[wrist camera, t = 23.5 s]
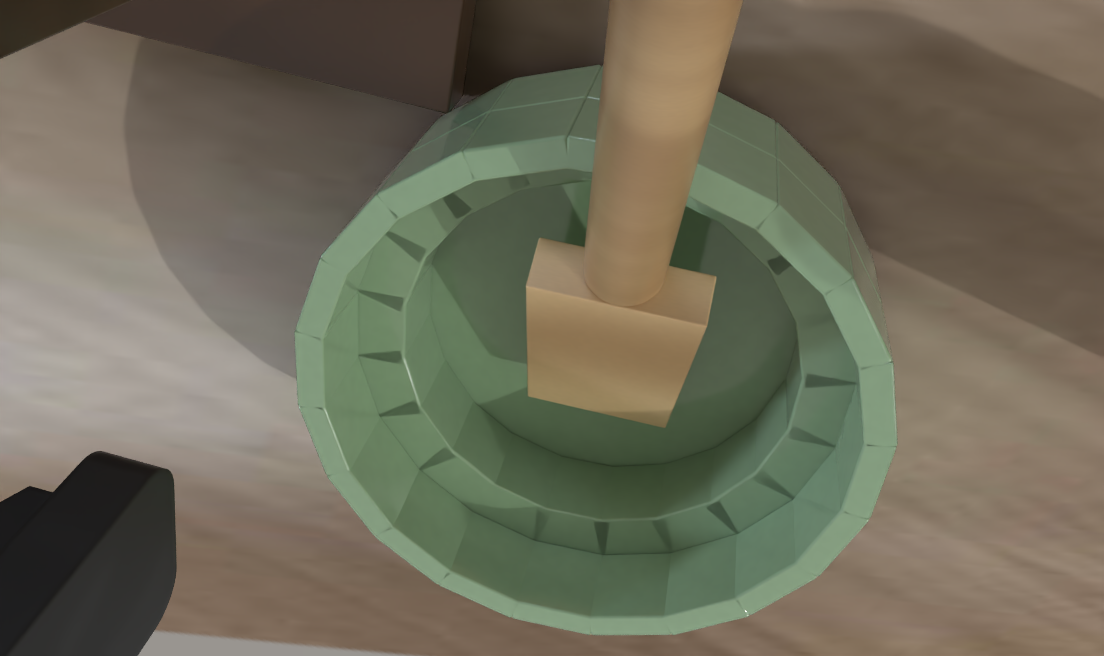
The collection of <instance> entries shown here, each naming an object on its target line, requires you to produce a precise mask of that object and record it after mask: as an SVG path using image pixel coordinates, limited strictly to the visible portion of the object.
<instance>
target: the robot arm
mask: <svg viewBox="0 0 1104 656" xmlns="http://www.w3.org/2000/svg"><path fill="white" fill-rule="evenodd" d="M175 578H176V531H175V498H174V479H173V476H172V473H171V472H170V471H169V470H168V469H165V468H161V467H157V466H154V465H150V464H147V463H143V462H139V461H136V460H132V459H128V458H125V457H121V456H117V455H114V454H110V453H106V452H102V451H97V452H94V453H92V454H90V455H88V456H87V457H86V458H85V459H84V460H83V461H82V462H81V463H80V464H79V465H78V466H77V467H76V468H75V469H74V470H73V471H72V472H71V473H70V475H69V476H68V477H67V478H66V479H65V480H64V481H63V482H62V483H61V484H60V485H59V487H58V488H57V489H56V490H55V491H54V492H49V491H46V490H42V489H39V488H35V487H31V486H29V487H27V488H25V489H23V490H22V491H20V492H18V493H16V494H14V495H12V496H11V497H9V498H7V499H5V500H3V501H1V502H0V656H137V655H138V654H139V653H140V651H141V649H142V648H143V646H144V645H145V644H146V642H147V641H148V639H149V638H150V636H151V635H152V633H153V632H154V630H155V629H156V627H157V625H158V624H159V622H160V620H161V618H162V616H163V614H164V612H165V610H166V608H167V605H168V603H169V600H170V597H171V594H172V591H173V587H174V583H175Z"/></svg>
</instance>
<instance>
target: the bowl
mask: <svg viewBox="0 0 1104 656" xmlns="http://www.w3.org/2000/svg"><path fill="white" fill-rule="evenodd" d="M602 74H603V65H602V66H601V65H594V66H588V67H582V68H576V69H569V70H563V71H557V72H551V73H544V74H538V75H532V76H525V77H519V78H514V79H513V80H509V81H507V82H505V83H503V84H501V85H499V86H497V87H496V88H494V89H492V90H490V91H488V92H486V93H484V94H482V95H481V96H479V97H477V98H475V99H473V100H471V101H469V102H467V103H466V104H464V105H462V106H460V107H458V108H456V109H454V110H452V111H451V112H449V113H447V114H445V115H443V116H441V117H440V118H439V119H437V120H436V121H435V123H434V124H433V125H432V126H431V127H430V128H429V129H428V130H427V132H426V133H425V134H424V135H423V136H422V137H421V138H420V140H419V141H418V142H417V143H416V144H415V145H414V146H413V147H412V149H411V150H410V151H409V152H408V153H407V154H406V155H405V156H404V158H403V159H402V160H401V161H400V162H399V163H398V164H397V165H396V167H395V168H394V169H393V170H392V171H391V172H390V173H389V175H388V176H387V177H386V178H385V179H384V181H383V182H382V183H381V184H380V185H379V187H378V188H377V189H376V190H375V191H374V193H373V194H372V195H371V196H370V197H369V199H368V200H367V201H366V202H365V203H364V205H363V206H362V207H361V208H360V209H359V211H358V212H357V213H356V214H355V215H354V216H353V218H352V219H351V220H350V221H349V223H348V224H347V225H346V226H345V227H344V229H343V230H342V231H341V232H340V233H339V235H338V236H337V237H336V238H335V239H334V241H333V242H332V243H331V244H330V245H329V247H328V248H327V249H326V250H325V251H324V253H323V254H322V255H321V258H320V259H319V262H318V265H317V268H316V270H315V273H314V276H313V279H312V282H311V285H310V288H309V291H308V293H307V296H306V299H305V302H304V305H303V308H302V311H301V314H300V316H299V319H298V322H297V325H296V330H295V353H296V374H297V396H298V405H299V408H300V411H301V413H302V416H303V418H304V421H305V423H306V426H307V428H308V431H309V433H310V436H311V438H312V441H313V443H314V446H315V448H316V451H317V453H318V455H319V458H320V460H321V463H322V465H323V468H324V470H325V473H326V474H327V477H328V478H329V480H330V481H331V482H332V484H333V485H334V486H335V487H336V489H337V490H338V491H339V492H340V494H341V495H342V496H343V497H344V499H345V500H346V501H347V502H348V504H349V505H350V506H351V507H352V509H353V510H354V511H355V512H356V514H357V515H358V516H359V518H360V519H361V520H362V521H363V523H364V524H365V525H366V526H367V528H368V529H369V530H370V531H371V533H372V534H373V535H374V536H375V537H376V538H377V539H378V540H380V541H381V542H382V543H384V544H385V545H386V546H387V547H389V548H390V549H391V550H393V551H394V552H395V553H397V554H398V555H399V556H401V557H402V558H403V559H405V560H406V561H407V562H408V563H410V564H411V565H412V566H414V567H415V568H416V569H418V570H419V571H420V572H422V573H423V574H424V575H425V576H427V577H428V578H429V579H431V580H432V581H433V582H435V583H436V584H439V585H440V586H442V587H444V588H446V589H448V590H450V591H453V592H455V593H457V594H459V595H461V596H464V597H466V598H468V599H470V600H472V601H475V602H477V603H479V604H481V605H483V606H486V607H488V608H490V609H492V610H494V611H496V612H499V613H501V614H503V615H505V616H507V617H510V618H511V617H513V618H514V619H518V620H523V621H527V622H532V623H537V624H541V625H546V626H550V627H555V628H560V629H564V630H569V631H573V632H578V633H583V634H587V635H590V634H592V635H670V634H671V633H672V635H676V634H680V633H684V632H688V631H692V630H696V629H700V628H704V627H708V626H712V625H716V624H720V623H724V622H728V621H732V620H736V619H740V618H745V617H748V616H749V615H752V614H754V613H756V612H757V611H759V610H761V609H763V608H764V607H766V606H768V605H770V604H771V603H773V602H775V601H777V600H779V599H780V598H782V597H784V596H786V595H787V594H789V593H791V592H793V591H794V590H796V589H798V588H800V587H801V586H803V585H805V584H807V583H808V582H810V581H812V580H814V579H816V577H817V576H820V575H821V573H822V572H823V571H824V570H825V569H826V568H827V567H828V566H829V565H830V563H831V562H832V561H833V560H834V559H835V558H836V557H837V556H838V555H839V553H840V552H841V551H842V550H843V549H844V548H845V547H846V546H847V544H848V543H849V542H850V541H851V540H852V539H853V538H854V537H855V536H856V534H857V533H858V532H859V531H860V530H861V529H862V528H863V527H864V526H865V524H866V523H867V522H868V521H869V519H870V517H871V515H872V513H873V510H874V507H875V505H876V502H877V499H878V496H879V494H880V491H881V488H882V486H883V483H884V480H885V478H886V475H887V472H888V469H889V467H890V464H891V461H892V459H893V456H894V453H895V451H896V448H897V444H898V441H897V421H896V402H895V382H894V363H893V358H892V353H891V348H890V342H889V337H888V332H887V327H886V322H885V317H884V312H883V308H882V302H881V297H880V292H879V286H878V281H877V276H876V271H875V266H874V261H873V257H872V255H871V252H870V250H869V248H868V246H867V244H866V241H865V239H864V237H863V235H862V233H861V231H860V228H859V226H858V224H857V222H856V220H855V218H854V215H853V213H852V211H851V209H850V207H849V204H848V202H847V200H846V198H845V196H844V194H843V191H842V189H841V187H840V186H838V183H837V182H836V181H835V180H834V179H833V178H832V177H831V176H830V175H829V173H828V172H827V171H826V170H825V169H824V168H823V167H822V166H821V165H820V164H819V163H818V162H817V161H816V160H815V159H814V158H813V157H812V156H811V155H810V154H809V153H808V152H807V151H806V150H805V149H804V148H803V147H802V146H801V145H800V144H799V143H798V142H797V141H796V140H795V139H794V138H793V137H792V136H791V135H790V134H789V133H788V132H787V131H786V130H785V129H784V128H783V127H782V126H781V125H780V124H779V123H776V122H775V120H773V119H771V118H769V117H767V116H765V115H763V114H761V113H759V112H757V111H755V110H753V109H751V108H749V107H747V106H745V105H743V104H742V103H740V102H738V101H736V100H734V99H732V98H730V97H728V96H726V95H724V94H722V93H720V92H717V95H716V99H715V103H714V106H713V110H712V113H711V117H710V120H709V124H708V128H707V131H706V135H705V138H704V142H703V145H702V149H701V153H700V156H699V160H698V163H697V167H696V170H695V174H694V178H693V181H692V185H691V188H690V192H689V195H688V199H687V203H686V206H685V210H684V213H683V217H682V220H681V224H680V228H679V231H678V235H677V238H676V242H675V245H674V249H673V253H672V256H671V260H670V263H669V266H673V267H677V268H682V269H687V270H691V271H696V272H700V273H705V274H709V275H714V276H716V283H715V288H714V294H713V299H712V304H711V309H710V314H709V320H708V325H707V328H706V330H705V333H704V335H703V338H702V340H701V343H700V345H699V347H698V350H697V352H696V355H695V357H694V360H693V362H692V364H691V367H690V369H689V372H688V374H687V377H686V379H685V382H684V384H683V386H682V389H681V391H680V394H679V396H678V399H677V401H676V403H675V406H674V408H673V411H672V413H671V416H670V418H669V420H668V423H667V425H666V427H665V428H662V427H658V426H654V425H650V424H645V423H641V422H637V421H632V420H628V419H624V418H619V417H615V416H611V415H606V414H602V413H598V412H594V411H589V410H585V409H581V408H576V407H572V406H568V405H563V404H559V403H555V402H550V401H546V400H542V399H538V398H533V397H529V396H528V389H527V326H526V283H527V280H528V276H529V272H530V269H531V265H532V262H533V258H534V254H535V251H536V247H537V243H538V240H539V238H545V239H550V240H554V241H559V242H564V243H568V244H573V245H577V246H582V247H585V240H586V230H587V220H588V210H589V201H590V191H591V181H592V171H593V162H594V152H595V142H596V132H597V122H598V113H599V103H600V93H601V83H602Z"/></svg>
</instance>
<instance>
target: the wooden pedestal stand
mask: <svg viewBox="0 0 1104 656" xmlns="http://www.w3.org/2000/svg"><path fill="white" fill-rule="evenodd" d="M475 5H476V0H0V59H1V58H3V57H6V56H8V55H10V54H13V53H15V52H17V51H19V50H22V49H24V48H26V47H28V46H31V45H33V44H35V43H37V42H40V41H42V40H44V39H46V38H49V37H51V36H53V35H55V34H58V33H60V32H62V31H64V30H67V29H69V28H71V27H73V26H76V25H78V24H80V23H82V22H87V23H91V24H95V25H99V26H103V27H107V28H111V29H115V30H119V31H123V32H126V33H130V34H134V35H138V36H142V37H146V38H150V39H154V40H158V41H162V42H166V43H170V44H174V45H178V46H182V47H186V48H190V49H194V50H198V51H202V52H206V53H210V54H214V55H218V56H221V57H225V58H229V59H233V60H237V61H241V62H245V63H249V64H253V65H257V66H261V67H265V68H269V69H273V70H277V71H281V72H285V73H289V74H293V75H297V76H301V77H305V78H309V79H312V80H316V81H320V82H324V83H328V84H332V85H336V86H340V87H344V88H348V89H352V90H356V91H360V92H364V93H368V94H372V95H376V96H380V97H384V98H388V99H392V100H396V101H400V102H403V103H407V104H411V105H415V106H419V107H423V108H427V109H431V110H435V111H439V112H443V113H449V112H450V111H451V110H452V108H453V107H454V106H455V105H456V103H457V102H458V101H459V100H460V98H461V97H462V96H463V89H464V82H465V75H466V68H467V61H468V54H469V47H470V40H471V33H472V26H473V19H474V12H475Z"/></svg>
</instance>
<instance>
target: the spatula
mask: <svg viewBox="0 0 1104 656" xmlns="http://www.w3.org/2000/svg"><path fill="white" fill-rule="evenodd" d="M742 3H743V0H610V5H609V15H608V25H607V35H606V44H605V54H604V64H603V74H602V83H601V93H600V103H599V113H598V122H597V132H596V142H595V152H594V162H593V171H592V181H591V191H590V201H589V210H588V220H587V230H586V240H585V247H582V246H577V245H573V244H568V243H564V242H559V241H554V240H550V239H545V238H539V240H538V243H537V247H536V251H535V254H534V258H533V262H532V265H531V269H530V272H529V276H528V280H527V283H526V326H527V389H528V396H529V397H533V398H538V399H542V400H546V401H550V402H555V403H559V404H563V405H568V406H572V407H576V408H581V409H585V410H589V411H594V412H598V413H602V414H606V415H611V416H615V417H619V418H624V419H628V420H632V421H637V422H641V423H645V424H650V425H654V426H658V427H662V428H665V427H666V425H667V423H668V420H669V418H670V416H671V413H672V411H673V408H674V406H675V403H676V401H677V399H678V396H679V394H680V391H681V389H682V386H683V384H684V382H685V379H686V377H687V374H688V372H689V369H690V367H691V364H692V362H693V360H694V357H695V355H696V352H697V350H698V347H699V345H700V343H701V340H702V338H703V335H704V333H705V330H706V328H707V325H708V320H709V314H710V309H711V304H712V299H713V294H714V288H715V283H716V276H714V275H709V274H705V273H700V272H696V271H691V270H687V269H682V268H677V267H673V266H669V263H670V260H671V256H672V253H673V249H674V245H675V242H676V238H677V235H678V231H679V228H680V224H681V220H682V217H683V213H684V210H685V206H686V203H687V199H688V195H689V192H690V188H691V185H692V181H693V178H694V174H695V170H696V167H697V163H698V160H699V156H700V153H701V149H702V145H703V142H704V138H705V135H706V131H707V128H708V124H709V120H710V117H711V113H712V110H713V106H714V103H715V99H716V95H717V92H718V88H719V85H720V81H721V78H722V74H723V71H724V67H725V63H726V60H727V56H728V53H729V49H730V46H731V42H732V38H733V35H734V31H735V28H736V24H737V21H738V17H739V13H740V10H741V6H742Z"/></svg>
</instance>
